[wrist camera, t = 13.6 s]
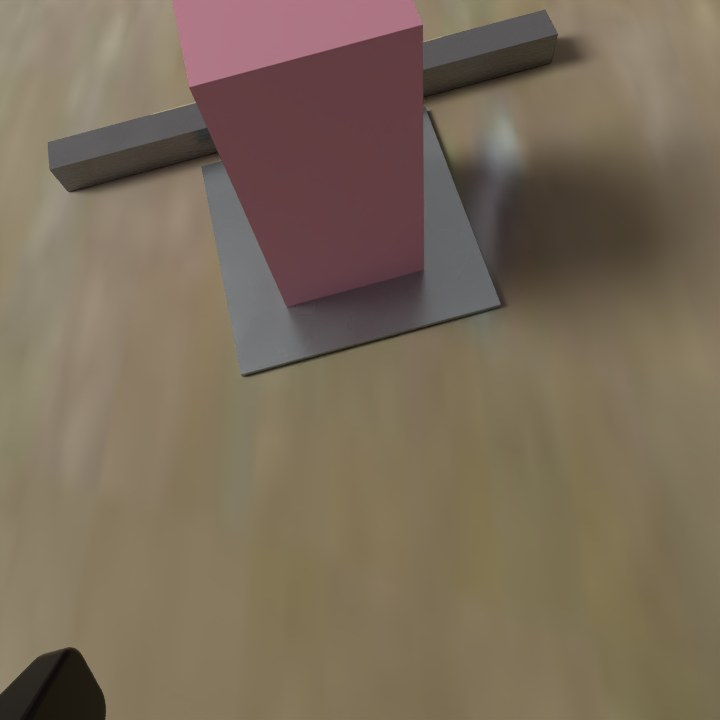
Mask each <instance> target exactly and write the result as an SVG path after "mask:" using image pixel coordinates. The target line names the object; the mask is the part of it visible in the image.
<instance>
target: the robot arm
mask: <svg viewBox="0 0 720 720" xmlns="http://www.w3.org/2000/svg"><path fill="white" fill-rule="evenodd" d="M105 717H106V704H105V699H104V695H103V692H102V690H101V688H100V686H99V685H98V683H97V681H96V679H95V677H94V676H93V674H92V672H91V670H90V668H89V667H88V665H87V663H86V661H85V659H84V658H83V656H82V654H81V653H80V652H79V651H78V650H77V649H75V648H72V647H68V648H64V649H60V650H57V651H53V652H49V653H46V654H43V655H41V656H39V657H37V658H36V659H35V660H34V661H33V662H32V663H31V664H30V665H29V666H28V667H27V668H26V669H25V670H24V671H23V672H22V673H21V674H20V675H19V676H18V677H17V678H16V679H15V680H14V681H13V682H12V683H11V684H10V685H9V686H8V687H7V688H6V689H5V690H4V691H3V692H2V693H1V694H0V720H105Z"/></svg>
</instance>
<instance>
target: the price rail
mask: <svg viewBox="0 0 720 720" xmlns="http://www.w3.org/2000/svg"><path fill="white" fill-rule="evenodd" d="M557 35H558V33H557V31H556V29H555V28H554V26H553V24H552V22H551V20H550V18H549V16H548V14H547V12H546V10H542V11H538V12H535V13H531V14H527V15H523V16H520V17H516V18H512V19H508V20H505V21H501V22H497V23H493V24H490V25H486V26H482V27H478V28H475V29H471V30H467V31H463V32H460V33H456V34H452V35H448V36H445V37H438V38H435V39H431V40H427V41H423V97H425V96H429V95H432V94H436V93H440V92H443V91H447V90H451V89H455V88H458V87H462V86H466V85H470V84H473V83H477V82H481V81H485V80H488V79H492V78H496V77H500V76H503V75H507V74H511V73H515V72H518V71H522V70H526V69H529V68H533V67H537V66H541V65H544V64H548V63H551V62H552V58H553V53H554V49H555V44H556V40H557ZM215 152H218V151H217V149H216V147H215V144H214V142H213V140H212V138H211V135H210V133H209V131H208V128H207V126H206V124H205V122H204V119H203V117H202V115H201V113H200V110H199V108H198V106H197V104H196V102H195V103H191V104H187V105H184V106H180V107H176V108H172V109H169V110H165V111H161V112H157V113H154V114H151V115H149V116H145V117H141V118H137V119H134V120H130V121H126V122H122V123H119V124H115V125H111V126H107V127H104V128H100V129H96V130H92V131H89V132H85V133H81V134H77V135H74V136H70V137H66V138H62V139H59V140H55V141H51V142H48V154H49V168H50V171H51V172H52V173H53V174H54V176H55V177H56V178H57V179H58V180H59V182H60V183H61V184H62V185H63V186H64V188H65V189H66V190H67V191H68V192H70V191H73V190H77V189H81V188H85V187H88V186H92V185H96V184H99V183H103V182H107V181H111V180H114V179H118V178H122V177H126V176H129V175H133V174H137V173H141V172H144V171H148V170H152V169H156V168H159V167H163V166H167V165H171V164H174V163H178V162H182V161H185V160H189V159H193V158H197V157H200V156H204V155H208V154H212V153H215ZM423 155H424V270H421V271H417V272H414V273H410V274H406V275H403V276H399V277H395V278H392V279H388V280H384V281H381V282H377V283H373V284H370V285H366V286H362V287H358V288H355V289H351V290H347V291H344V292H340V293H336V294H333V295H329V296H325V297H322V298H318V299H314V300H311V301H307V302H303V303H300V304H296V305H292V306H288V307H286V305H285V303H284V300H283V298H282V296H281V294H280V291H279V289H278V287H277V284H276V282H275V280H274V278H273V275H272V273H271V271H270V269H269V266H268V264H267V262H266V260H265V257H264V255H263V253H262V251H261V248H260V246H259V244H258V242H257V239H256V237H255V235H254V232H253V230H252V228H251V226H250V223H249V221H248V219H247V217H246V214H245V212H244V210H243V208H242V205H241V203H240V201H239V199H238V196H237V194H236V192H235V190H234V187H233V185H232V183H231V180H230V178H229V176H228V174H227V171H226V169H225V167H224V165H223V162H222V161H221V162H217V163H213V164H210V165H206V166H202V172H203V177H204V182H205V188H206V193H207V198H208V203H209V209H210V214H211V219H212V224H213V230H214V235H215V240H216V245H217V251H218V256H219V261H220V266H221V272H222V277H223V282H224V287H225V293H226V298H227V303H228V308H229V314H230V319H231V324H232V329H233V335H234V340H235V345H236V350H237V356H238V361H239V366H240V371H241V375H242V376H246V375H250V374H253V373H257V372H261V371H264V370H268V369H272V368H275V367H279V366H283V365H287V364H290V363H294V362H298V361H301V360H305V359H309V358H312V357H316V356H320V355H324V354H327V353H331V352H335V351H338V350H342V349H346V348H349V347H353V346H357V345H361V344H364V343H368V342H372V341H375V340H379V339H383V338H386V337H390V336H394V335H398V334H401V333H405V332H409V331H412V330H416V329H420V328H424V327H427V326H431V325H435V324H438V323H442V322H446V321H449V320H453V319H457V318H461V317H464V316H468V315H472V314H475V313H479V312H483V311H486V310H490V309H494V308H498V307H500V306H501V303H500V301H499V298H498V296H497V293H496V290H495V288H494V285H493V283H492V280H491V277H490V275H489V272H488V270H487V267H486V264H485V262H484V259H483V257H482V254H481V251H480V249H479V246H478V244H477V241H476V238H475V236H474V233H473V231H472V228H471V225H470V223H469V220H468V218H467V215H466V212H465V210H464V207H463V205H462V202H461V199H460V197H459V194H458V192H457V189H456V186H455V184H454V181H453V179H452V176H451V173H450V171H449V168H448V166H447V163H446V160H445V158H444V155H443V153H442V150H441V147H440V145H439V142H438V140H437V137H436V134H435V132H434V129H433V127H432V124H431V121H430V119H429V116H428V114H427V111H426V108H425V107H423Z"/></svg>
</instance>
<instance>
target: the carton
mask: <svg viewBox="0 0 720 720" xmlns="http://www.w3.org/2000/svg"><path fill="white" fill-rule="evenodd" d="M172 2H173V7H174V12H175V17H176V22H177V27H178V32H179V37H180V42H181V48H182V53H183V58H184V63H185V68H186V73H187V78H188V83H189V88H190V90H191V92H192V95H193V97H194V99H195V101H196V104H197V106H198V108H199V110H200V113H201V115H202V117H203V119H204V122H205V124H206V126H207V128H208V131H209V133H210V135H211V138H212V140H213V142H214V144H215V147H216V149H217V151H218V153H219V156H220V158H221V160H222V162H223V165H224V167H225V169H226V171H227V174H228V176H229V178H230V180H231V183H232V185H233V187H234V190H235V192H236V194H237V196H238V199H239V201H240V203H241V205H242V208H243V210H244V212H245V214H246V217H247V219H248V221H249V223H250V226H251V228H252V230H253V232H254V235H255V237H256V239H257V242H258V244H259V246H260V248H261V251H262V253H263V255H264V257H265V260H266V262H267V264H268V266H269V269H270V271H271V273H272V275H273V278H274V280H275V282H276V284H277V287H278V289H279V291H280V294H281V296H282V298H283V300H284V303H285V305H286V307H288V306H292V305H296V304H300V303H303V302H307V301H311V300H314V299H318V298H322V297H325V296H329V295H333V294H336V293H340V292H344V291H347V290H351V289H355V288H358V287H362V286H366V285H370V284H373V283H377V282H381V281H384V280H388V279H392V278H395V277H399V276H403V275H406V274H410V273H414V272H417V271H421V270H424V155H423V24H422V22H421V19H420V17H419V15H418V12H417V10H416V7H415V5H414V2H413V0H172Z"/></svg>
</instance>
